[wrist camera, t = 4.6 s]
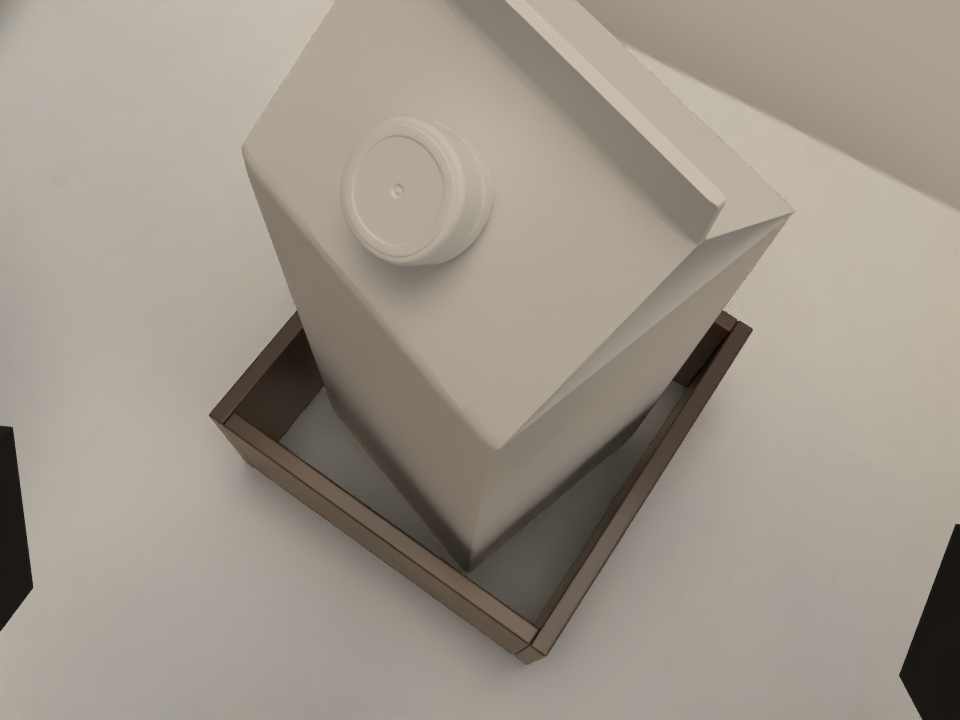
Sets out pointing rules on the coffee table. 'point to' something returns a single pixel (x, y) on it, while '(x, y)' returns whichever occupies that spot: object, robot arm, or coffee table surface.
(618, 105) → the milk carton
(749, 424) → the coffee table surface
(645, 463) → the tray
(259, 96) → the coffee table surface
